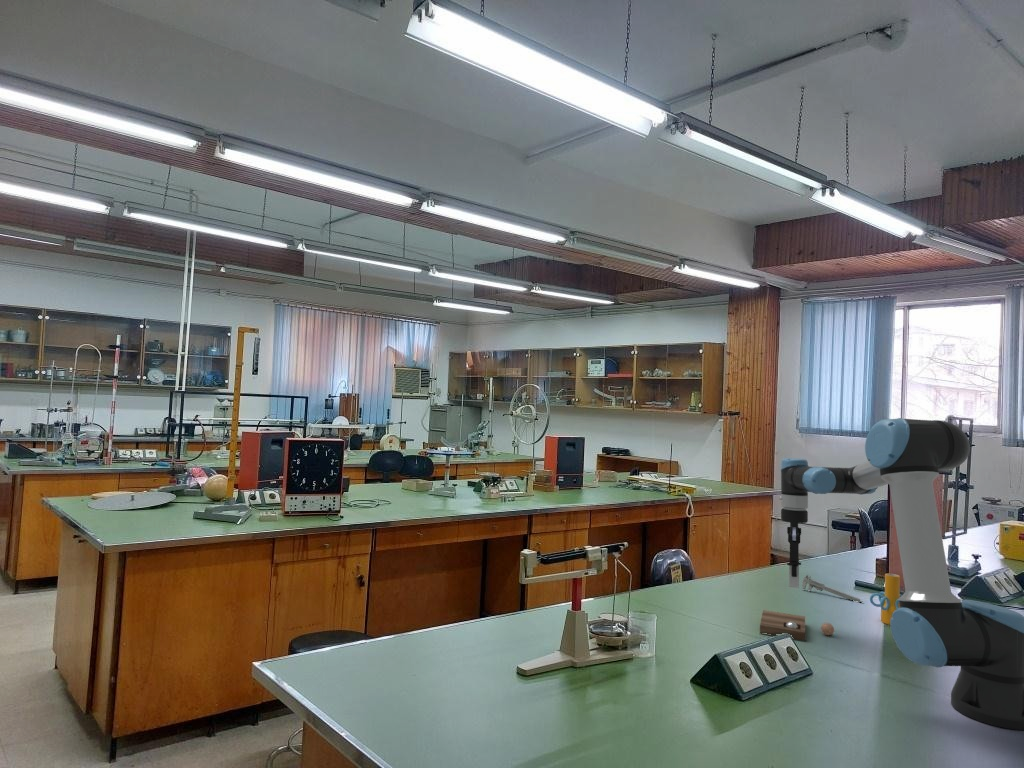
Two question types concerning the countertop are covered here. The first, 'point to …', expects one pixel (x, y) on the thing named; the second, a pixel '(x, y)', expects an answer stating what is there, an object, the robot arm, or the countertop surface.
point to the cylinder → (888, 597)
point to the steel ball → (791, 625)
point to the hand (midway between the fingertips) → (794, 586)
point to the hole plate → (782, 624)
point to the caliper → (825, 588)
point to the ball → (827, 629)
